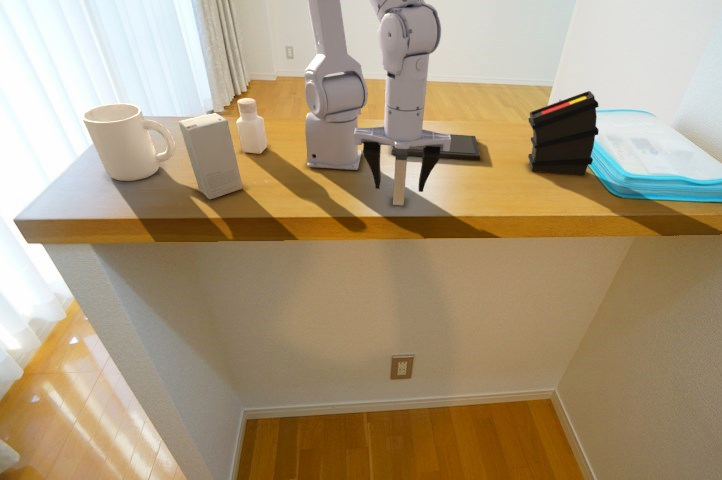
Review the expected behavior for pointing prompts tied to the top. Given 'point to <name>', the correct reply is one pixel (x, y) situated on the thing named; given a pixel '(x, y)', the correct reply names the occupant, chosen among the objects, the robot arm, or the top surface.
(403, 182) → the cream rectangular bar
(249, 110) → the pepper shaker
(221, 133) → the cosmetic box
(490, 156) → the top surface
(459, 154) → the tray
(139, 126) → the mug
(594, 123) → the magazine
